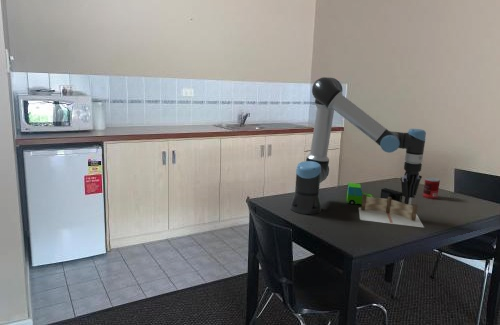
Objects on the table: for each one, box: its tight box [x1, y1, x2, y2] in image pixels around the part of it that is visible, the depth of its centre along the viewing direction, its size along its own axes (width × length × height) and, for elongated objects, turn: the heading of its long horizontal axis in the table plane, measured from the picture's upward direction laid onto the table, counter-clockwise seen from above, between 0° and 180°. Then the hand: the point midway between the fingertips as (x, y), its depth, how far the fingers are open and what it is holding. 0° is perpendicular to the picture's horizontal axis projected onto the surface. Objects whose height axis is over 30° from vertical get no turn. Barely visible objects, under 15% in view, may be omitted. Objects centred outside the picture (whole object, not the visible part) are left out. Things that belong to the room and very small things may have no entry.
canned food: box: [422, 176, 441, 200], centre depth 226 cm, size 8×8×11 cm
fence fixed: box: [360, 193, 392, 213], centre depth 194 cm, size 14×2×8 cm, turn 77°
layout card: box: [358, 206, 425, 228], centre depth 188 cm, size 28×19×1 cm
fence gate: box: [390, 200, 418, 220], centre depth 188 cm, size 13×2×7 cm, turn 42°
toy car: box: [346, 182, 374, 205], centre depth 207 cm, size 10×13×10 cm
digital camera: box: [379, 187, 403, 203], centre depth 212 cm, size 10×5×7 cm, turn 41°
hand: (407, 210), depth 188 cm, fingers closed
